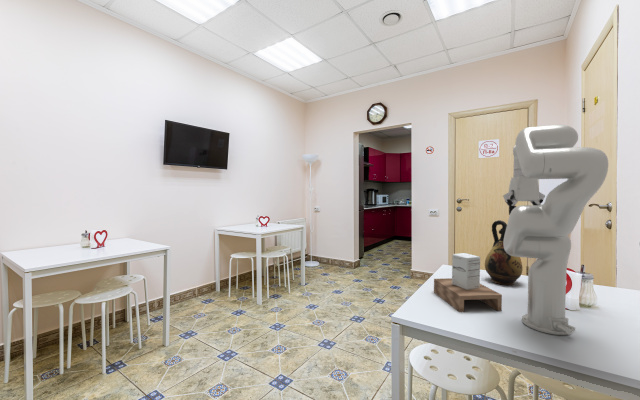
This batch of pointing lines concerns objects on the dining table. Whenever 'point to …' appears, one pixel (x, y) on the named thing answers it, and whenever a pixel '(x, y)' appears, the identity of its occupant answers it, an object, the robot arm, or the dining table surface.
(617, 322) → the dining table surface
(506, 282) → the ceramic jug
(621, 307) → the dining table surface
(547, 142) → the robot arm
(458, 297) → the walnut shelf
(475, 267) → the supplement box
